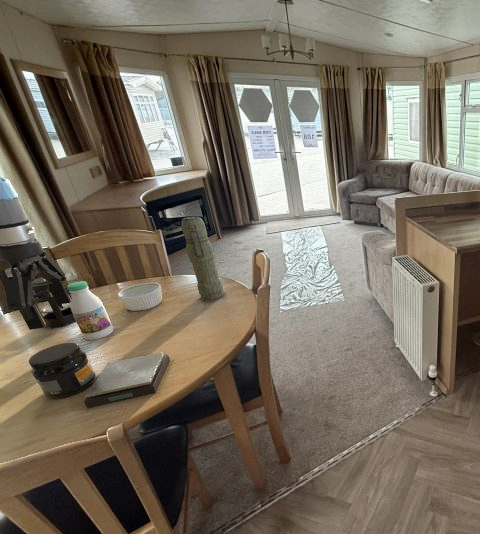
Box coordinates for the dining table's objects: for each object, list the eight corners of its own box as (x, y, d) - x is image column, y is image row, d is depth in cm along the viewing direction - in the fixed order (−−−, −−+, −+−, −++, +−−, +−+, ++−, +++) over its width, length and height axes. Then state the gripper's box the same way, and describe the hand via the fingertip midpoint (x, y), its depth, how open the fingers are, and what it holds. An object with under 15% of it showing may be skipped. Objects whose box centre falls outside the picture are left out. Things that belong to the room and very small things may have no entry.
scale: (86, 408, 90) (83, 401, 89) (110, 372, 103) (107, 365, 102) (155, 393, 95) (152, 386, 94) (170, 360, 108) (168, 354, 107)
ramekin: (154, 294, 146) (149, 279, 144) (172, 301, 141) (167, 286, 138) (117, 307, 136) (110, 292, 133) (135, 316, 130) (128, 300, 128)
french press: (42, 332, 120) (11, 273, 110) (43, 321, 126) (13, 265, 116) (88, 319, 128) (62, 264, 118) (87, 310, 133) (62, 256, 124)
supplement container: (106, 372, 102) (91, 339, 97) (78, 398, 93) (59, 364, 88) (67, 375, 101) (49, 342, 96) (34, 402, 91) (12, 367, 86)
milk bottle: (84, 333, 120) (60, 283, 112) (113, 325, 125) (92, 276, 116) (84, 343, 115) (58, 291, 106) (114, 334, 119) (92, 284, 111)
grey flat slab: (86, 397, 89) (84, 395, 89) (108, 364, 101) (107, 362, 101) (150, 383, 95) (150, 381, 94) (165, 354, 106) (164, 351, 106)
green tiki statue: (202, 304, 140) (178, 223, 125) (199, 293, 148) (176, 215, 134) (226, 298, 145) (206, 219, 131) (222, 287, 153) (202, 212, 139)
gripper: (3, 257, 75) (45, 337, 83) (61, 226, 95) (90, 292, 104) (-47, 262, 72) (2, 343, 80) (24, 228, 92) (57, 296, 101)
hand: (52, 314), depth 92 cm, fingers open, 13 cm apart
